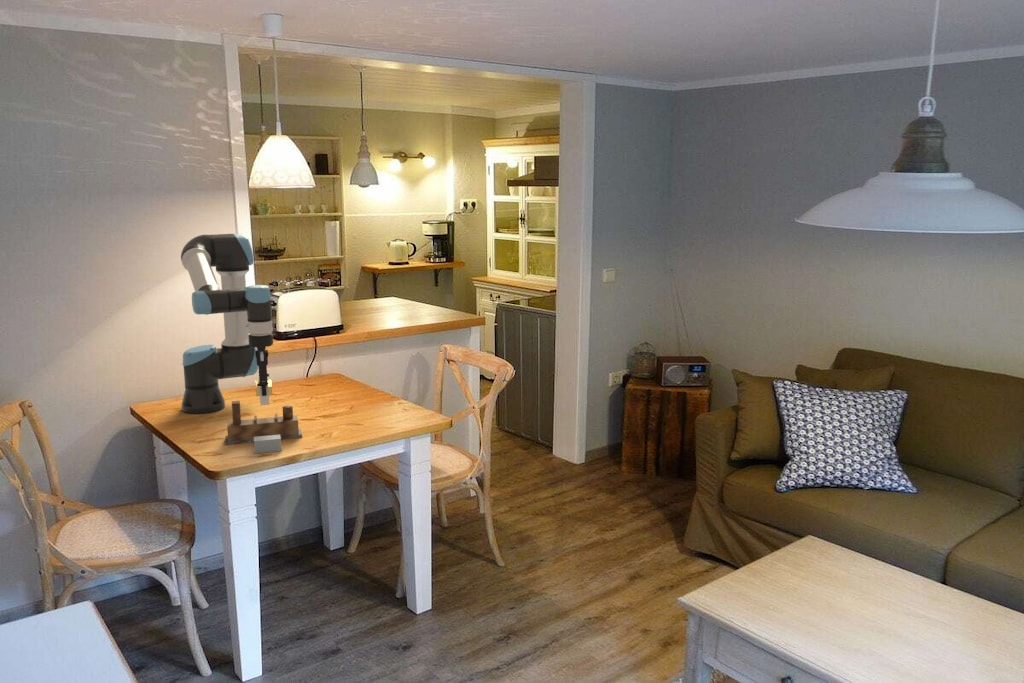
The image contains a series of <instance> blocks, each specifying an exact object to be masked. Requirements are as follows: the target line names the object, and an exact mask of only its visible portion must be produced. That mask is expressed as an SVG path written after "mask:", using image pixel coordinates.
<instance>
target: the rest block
mask: <svg viewBox="0 0 1024 683" xmlns="http://www.w3.org/2000/svg"><path fill="white" fill-rule="evenodd" d="M253 448H254V449H253V450H254V454H262V453H273V452H282V439H281V437H280V435H270V436H259V437H254V442H253Z"/></svg>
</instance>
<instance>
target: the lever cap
mask: <svg viewBox="0 0 1024 683" xmlns="http://www.w3.org/2000/svg"><path fill="white" fill-rule="evenodd" d="M267 381H268V391H269V396H273V383H272V379H270V378H269V379H268V380H267ZM262 382H265V381H262ZM259 383H260V381H259V379H257V380H256V379H255V396H256V397H260V389H259V386H257V384H259Z"/></svg>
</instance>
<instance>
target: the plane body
mask: <svg viewBox="0 0 1024 683" xmlns="http://www.w3.org/2000/svg"><path fill="white" fill-rule="evenodd" d="M293 409H294V408H293V406H292V405H284V406H282V415H281V416H279V415H278V413H274V416H272V417H261V418H258V416H257V415H258V414H257V415H253V418H251V419H242V416H241V415H242V414H241V413H242V412H241V401H240V400H235V401H231V414H232V420H228V421H227V422H226V427H227V429H226V430H227V435H225V438H224V446H228V445H237V444H249V443H254V437H259V436H270V435H280V437H281V440H289V439H298V438H303V433H302V429H301V428H299V418H298V414H294V411H293Z"/></svg>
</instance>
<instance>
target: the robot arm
mask: <svg viewBox="0 0 1024 683" xmlns="http://www.w3.org/2000/svg"><path fill="white" fill-rule="evenodd" d="M180 261H181V263H182V266H183V268H184V269H185V270H186V271H187V272H188V274H189V275H188V276H189V278H190V280H191V283H192V286H193V289H194V291H193V292H192V294H191V306H192V310H193V313H194V314H195V315H205V316H207V315H213V314H223V324H224V325H223V328H224V339H223V341H221V347H220V348H217V347H216V345H214V344H204V345H197V346H194V347H191V348H187V349H186V350H185V351H184V352H183V353H182V363H181V364H182V366H183V377H184V393H183V397H182V401H181V412H183V413H187V414H195V415H196V414H206V413H207V414H209V413H212V412H213V413H214V412H217V411H221V410H223V409H224V408H225V407H226V401H225V397H224V396H223V393H222V391H221V390H220V385H219V380H223V379H224V380H225V379H233V378H234V379H235V378H245V377H249V376H254V375H255V374H257V372H258V380H259V381H260V383H259V384H257V386H259V389H260V396H259V400H260V401H259V403H260V406H269V405H270V395H269V391H268V381H267V380H268V378H269V377H270V373H268V368H267V366H268V364H269V359H268V357H269V350H268V349H267V348H268V347H271V346H273V345H274V336H273V331H274V329H273V319H272V315H273V314H272V301H271V300H272V294H271V288H270V286H268V285H264V284H255V285H254V284H252V285H248V286H247V284H246V274H247V273H248V272H249V271H250V266H252V265H253V264H254V253H253V249H252V245H251V242H250V240H249V238H248V236H247V235H246V234H243V233H217V234H202V235H201V234H200V235H197V236H194V237H193V238H191V239H190V240H189V241H188V242H186V243H185V245H184V246H183V248H182V250H181V253H180ZM213 267H215V271H216V273H217V274H218V275H219V276H220V282H221V289H220V286H219V282H218V280H217V278H216V275H215V273H214V271H213ZM262 381H265V382H262Z"/></svg>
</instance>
